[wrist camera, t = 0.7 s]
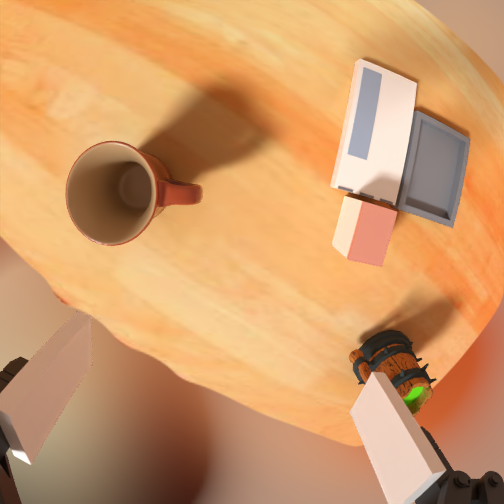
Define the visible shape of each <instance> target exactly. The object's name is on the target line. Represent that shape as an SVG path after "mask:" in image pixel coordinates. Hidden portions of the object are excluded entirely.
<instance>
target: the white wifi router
mask: <svg viewBox="0 0 504 504" xmlns="http://www.w3.org/2000/svg"><path fill="white" fill-rule="evenodd" d="M416 88H417V83H415V82H413V81H411V80H409V79H407V78H405V77H402V76H400V75H398V74H396V73H394V72H391V71H389V70H387V69H385V68H382V67H380V66H378V65H375V64H373V63H370V62H368V61H365V60H363V59H359V60H357V61H356V62H355V66H354V72H353V78H352V83H351V89H350V94H349V100H348V105H347V110H346V115H345V120H344V125H343V130H342V135H341V140H340V145H339V149H338V154H337V158H336V163H335V167H334V172H333V176H332V180H331V185H330V187H333V188H337V189H341V190H344V191H348V192H351V193H355V194H358V195H362V196H365V197H368V198H372V199H375V200H378V201H381V202H385V203H388V204H391V205H395V203H396V199H397V195H398V191H399V187H400V182H401V178H402V173H403V168H404V163H405V158H406V153H407V148H408V143H409V137H410V131H411V125H412V118H413V112H414V104H415V97H416Z"/></svg>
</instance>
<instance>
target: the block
mask: <svg viewBox="0 0 504 504" xmlns="http://www.w3.org/2000/svg"><path fill="white" fill-rule="evenodd" d="M396 216H397V211H394V210H390V209H387V208H384V207H381V206H378V205H374V204H371V203H368V202H364V201H361V200H357V199H354V198H350V197H347V196H344V200H343V204H342V208H341V212H340V216H339V220H338V223H337V227H336V231H335V235H334V238H333V242H332V246H333V247H334V248H336V249H337V250H338V251H339V252H340V253H341V254H342V255H344V256H345V257H346V258H347V259H348V260H352V261H356V262H361V263H366V264H370V265H375V266H380V267H382V264H383V261H384V258H385V254H386V251H387V248H388V244H389V241H390V238H391V234H392V230H393V227H394V223H395V219H396Z"/></svg>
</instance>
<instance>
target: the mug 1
mask: <svg viewBox="0 0 504 504" xmlns="http://www.w3.org/2000/svg"><path fill="white" fill-rule="evenodd" d="M202 197H203V188H202V186H201V185H198V184H190V183H184V182H180V181H177V180H173V179H172V178H171V174H170V172H169V170H168V169H167V167H166V166H165V165H164V163H163V162H162V161H160V160H159V159H158V158H156V157H155V156H153V155H151V154H148V153H144V152H140V151H139V150H138V149H136V148H135V147H133V146H131V145H129V144H127V143H124V142H119V141H106V142H101V143H98V144H96V145H94V146H92V147H90V148H89V149H87V150H86V151H85V152H83V153H82V154H81V155H80V156H79V158H78V159H77V160H76V161H75V163H74V165H73V166H72V168H71V170H70V173H69V176H68V179H67V184H66V204H67V209H68V212H69V215H70V217H71V219H72V221H73V223H74V225H75V226H76V227H77V229H78V230H79V231H80V232H81V233H82V234H83V235H84V236H85V237H87V238H88V239H90V240H91V241H93V242H95V243H98V244H102V245H107V246H115V245H121V244H125V243H127V242H130V241H132V240H133V239H135V238H136V237H138V236H139V235H140V234H141V233H142V232H143V231H144V230H145V229H146V228H147V226H148V225H149V224H150V222H151V221H152V219H153V218H154V217H156V216H157V215H159V214H160V213H161V212H162V211H163V210H164V208H165V207H166V206H170V205H194V204H198V203H200V202H201V200H202Z"/></svg>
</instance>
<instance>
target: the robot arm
mask: <svg viewBox="0 0 504 504" xmlns="http://www.w3.org/2000/svg"><path fill="white" fill-rule="evenodd" d="M91 324H92V316H89V315H86V314H83V313H80V312H76V313H75V314H74V315H73V316H72V317H71V318H70V319H69V320H68V321H67V322H66V323H65V324H64V325H63V326H62V327H61V328H60V329H59V330H58V331H57V332H56V333H55V334H54V335H53V336H52V337H51V338H50V339H49V340H48V341H47V342H46V343H45V344H44V345H43V346H42V348H41V349H40V350H39V351H38V352H37V353H36V354H35V355H34V356H33V357H32V358H31V359H30V360H26V359H24V358H22V357H19V358H17V359H15V360H13V361H11V362H9V364H8V365H7V366H6V367H5V368H4V369H3V371H1V372H0V504H22V503H21V501H20V498H19V494H18V492H17V488H16V486H15V482H14V479H13V475H12V472H11V469H10V464H9V460H8V457H7V455H6V452H7V450H8V449H9V447H10V448H11V450H12V452H13V454H14V456H16V457H18V458H19V459H21V460H23V461H25V462H26V463H28V464H30V465H32V463H33V462H34V460H35V458H36V456H37V454H38V452H39V451H40V449H41V447H42V445H43V444H44V442H45V440H46V438H47V437H48V435H49V433H50V431H51V430H52V428H53V426H54V425H55V423H56V421H57V420H58V418H59V416H60V415H61V413H62V411H63V410H64V408H65V406H66V405H67V403H68V402H69V400H70V398H71V397H72V395H73V394H74V392H75V390H76V389H77V387H78V386H79V384H80V383H81V381H82V380H83V378H84V376H85V375H86V373H87V372H88V370H89V369H90V367H91V366H92V338H91V335H92V334H91V333H92V332H91V331H92V329H91V327H92V326H91ZM350 414H351V416H352V418H353V421H354V423H355V425H356V428H357V430H358V432H359V435H360V437H361V439H362V442H363V444H364V447H365V449H366V451H367V454H368V456H369V458H370V461H371V463H372V466H373V468H374V470H375V473H376V475H377V478H378V480H379V482H380V485H381V487H382V490H383V492H384V495H385V497H386V500H387V502H388V504H412V503H413V502H414V501H415V503H416V504H504V482H503V479H502V477H501V476H500V475H499V474H498V473H496V472H494V471H488V472H487V473H485V475H484V476H482V477H481V478H480V479H470V477H469V476H468V475H467V474H466V473H464V472H462V471H454V470H453V469H452V467H451V466H450V464H449V463H448V461H447V460H446V458H445V456H444V455H443V453H442V452H441V450H440V449H439V447H438V445H437V444H436V443H435V440H434V439H433V438H432V436H431V434H430V433H429V432H428V431H426V430H425V429H424V428H423V427H420V426H419V425H418V423H417V422H416V420H415V418H414V417H413V415H412V414H411V412H410V411H409V409H408V408H407V406H406V404H405V403H404V401H403V400H402V398H401V397H400V395H399V394H398V392H397V391H396V389H395V388H394V386H393V385H392V383H391V382H390V380H389V379H388V377H387V376H386V374H385V373H383V372H372V373H371V375H370V377H369V379H368V381H367V382H366V384H365V386H364V388H363V390H362V392H361V393H360V395H359V397H358V399H357V400H356V402H355V404H354V406H353V407H352V409H351V411H350Z"/></svg>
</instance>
